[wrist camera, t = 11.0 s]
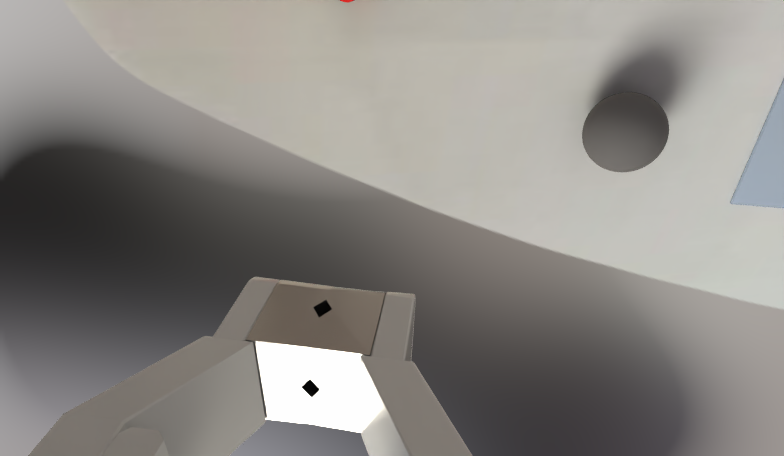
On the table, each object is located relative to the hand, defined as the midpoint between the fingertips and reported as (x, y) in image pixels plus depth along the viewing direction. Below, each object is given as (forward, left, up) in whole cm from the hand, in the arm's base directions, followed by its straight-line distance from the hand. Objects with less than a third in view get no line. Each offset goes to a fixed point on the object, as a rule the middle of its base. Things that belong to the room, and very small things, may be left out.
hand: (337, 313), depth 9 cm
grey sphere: (+6, +14, -28) cm, 32 cm away
